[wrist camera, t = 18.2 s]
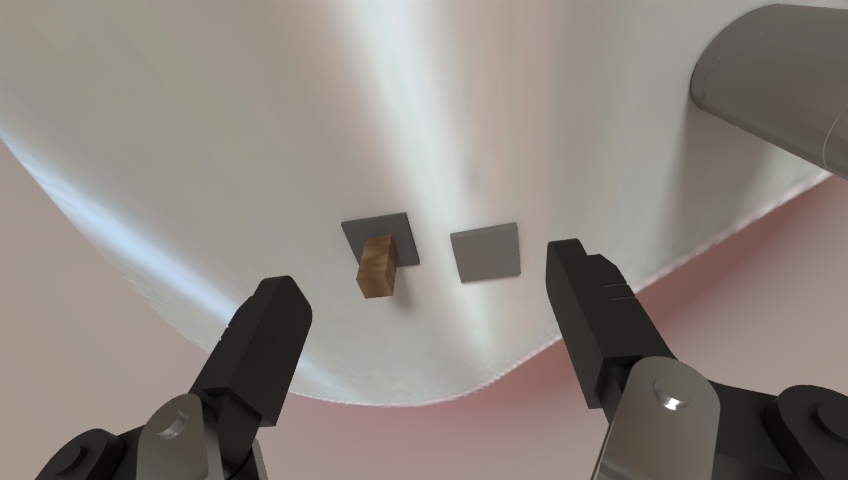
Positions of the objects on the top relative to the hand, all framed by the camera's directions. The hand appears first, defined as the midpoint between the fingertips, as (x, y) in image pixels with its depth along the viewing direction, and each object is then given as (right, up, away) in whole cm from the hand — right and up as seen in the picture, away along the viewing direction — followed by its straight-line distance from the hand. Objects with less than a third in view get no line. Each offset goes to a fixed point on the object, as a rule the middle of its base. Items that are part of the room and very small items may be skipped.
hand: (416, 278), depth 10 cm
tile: (+8, +3, +34) cm, 35 cm away
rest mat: (-6, +1, +36) cm, 36 cm away
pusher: (-6, 0, +35) cm, 36 cm away
